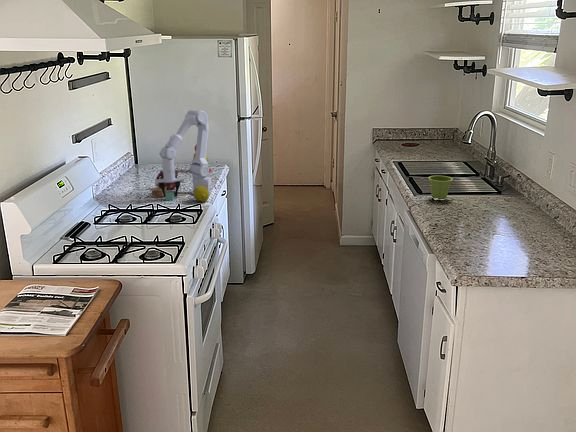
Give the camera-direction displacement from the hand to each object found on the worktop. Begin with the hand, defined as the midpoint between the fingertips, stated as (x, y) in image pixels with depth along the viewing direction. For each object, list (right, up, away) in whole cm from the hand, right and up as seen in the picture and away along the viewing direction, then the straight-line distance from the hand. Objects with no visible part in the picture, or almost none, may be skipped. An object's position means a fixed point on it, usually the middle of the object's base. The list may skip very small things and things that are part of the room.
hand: (170, 196), depth 292 cm
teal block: (0, -1, 0) cm, 1 cm away
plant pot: (+138, -2, -1) cm, 138 cm away
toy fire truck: (-6, +5, +22) cm, 23 cm away
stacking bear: (+6, +18, +63) cm, 65 cm away
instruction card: (+4, +1, +7) cm, 8 cm away
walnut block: (-7, 0, +6) cm, 10 cm away
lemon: (+17, -3, -3) cm, 17 cm away
